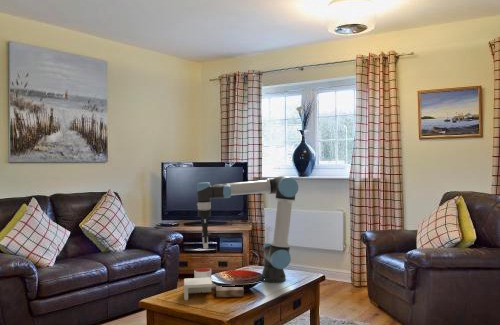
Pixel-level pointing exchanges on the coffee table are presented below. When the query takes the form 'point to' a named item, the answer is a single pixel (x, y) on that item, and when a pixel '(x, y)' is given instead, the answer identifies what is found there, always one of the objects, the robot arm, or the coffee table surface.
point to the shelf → (196, 285)
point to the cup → (202, 273)
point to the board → (229, 291)
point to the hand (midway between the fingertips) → (205, 246)
